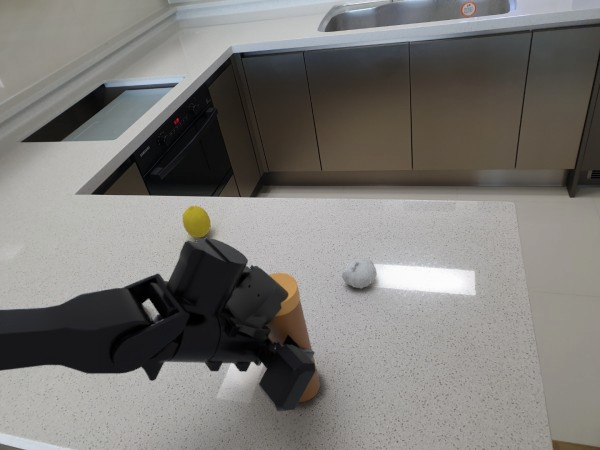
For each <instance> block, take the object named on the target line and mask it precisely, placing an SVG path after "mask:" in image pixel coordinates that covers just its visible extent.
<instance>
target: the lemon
mask: <svg viewBox="0 0 600 450" xmlns="http://www.w3.org/2000/svg"><path fill="white" fill-rule="evenodd" d="M182 224H183V228H184V230H185V231H186V232H187V234H188V235H190V236H191V237H192V238H193V237H194V238H204V237H205V236H206V235H208V233H209V231H210V229H211V225H212V223H211V219H210V215H209V214H208V212H207V211H206V210H205V209H204V208H203V207H201V206H199V205H190V206H189V207H187V208H186V209H185V210H184V211H183V214H182Z"/></svg>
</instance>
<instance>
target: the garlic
mask: <svg viewBox="0 0 600 450" xmlns="http://www.w3.org/2000/svg"><path fill="white" fill-rule="evenodd" d="M377 273H378V272H377V268H376V266H375V264H374V262H373V260H371V259H368V258H365V257H356V258H352V259H351V260H350V261H348V263H347V264H345V267H344V271H343V272H342V273H341V274H342V275H341V277H342V280H343V281H344V283H345V284H346V285H348V286H352V287H353V288H357V289H363V288H366V287H369V286H370V285H371V284H373V283H374V282H375V281H374V280H375V279H376V278H377V275H378V274H377Z"/></svg>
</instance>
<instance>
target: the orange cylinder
mask: <svg viewBox="0 0 600 450" xmlns="http://www.w3.org/2000/svg"><path fill="white" fill-rule="evenodd" d="M268 275H269V276H271V277H272V278H273V279H274V280H275V281H276V282H278V283H279V284H280V285H281V286H282V287H283V288H284V289H285V290H286V291H287V292H288V297H287V299H286V300H285V301H283V302H282V303H281V307H282V308H281V310H280V311H279V312H278V313H277V314H276V315H275V317H274V318H273V319H272V320H271V321H270V322H269V323H268V324H266V325H265V326H268V327H269V329H270V330H271V332H270V334H269V336H268V337H269V338H270V339H271V340H272V341H273V343H274V342H276V341H278V342H281V343H284V341H285V339H286V337H287V335H289V336H290V337H291V338H292V339H293V340H294V341H295V342H296V343H297V344H298V345H299V346H300V347H302V348H306V349H310V350H313V349H312V345H311V340H310V336H309V335H310V334H309V331H308V327H307V323H306V318H305V314H304V310H303V306H302V302H301V294H300V290H299V285H298V281H297V279H296V278H295V277H294V276H293V275H291V274H289V273H286V272H275V273H271V274H268ZM311 360H312V361H313V362H314V363H315V373H314V375H313V377H312V378H311V380H310V382H309V384H308V386H307V388H306V389H305V391H304V393H303V395H302V397H301V399H300V400H299V402H298V403H304V402H308V401H310V400H312V399H313V398H314V397H315V396H316V395H317V394H318V393H319V390H320V386H321V382H320V378H319V374H318V369H317V365H316V361H315V357H314V355H313V357H312V359H311Z"/></svg>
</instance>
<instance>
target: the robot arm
mask: <svg viewBox="0 0 600 450" xmlns="http://www.w3.org/2000/svg"><path fill="white" fill-rule="evenodd" d="M248 263H249V260H248V257H247V256H246V255H245V254H243V252H241V251H239V250H238V249H236V248H235V247H233V246H231V245H229V244H227V243H225V242H224V241H220V240H218V239H215V238H212V237H208V236H206V237H205V238H204V237H199V238H196V240H195V241H192V240H186V241H185V242H184V243H183V246H182V247H181V250H180V252H179V257H178V259H177V262H176V264H175V267H174V268H173V270H172V273H171V275H170V277H169V280H165V279H164V278H163V277H162V275H161V274H160V273H154V274H152V275H149V276H147V277H144V278H141V279H140V280H137V281H134V282H132V283H130V284H127V285H125V286H123V287H114V288H108V289H102V290H96V291H91V292H84V293H80V294H79V295H76V296H75V297H73V298H71V299H69V300H66V301H64V302H63V303H61V304H56V305H51V306H45V307H27V308H8V309H7V308H6V309H5V308H4V309H3V308H2V309H0V372H1V371H2V372H3V371H10V370H18V369H27V368H34V367H42V366H43V367H44V366H62V367H64V368H68V369H71V370H74V371H77V372H80V373H83V374H88V375H105V374H106V375H110V374H111V375H114V374H116V375H118V374H120V375H121V374H126V373H130V372H134V371H136V370H138V369H140V368H141V369H143V371H144V372H145V374H146V376H147V378H148V380H149V381H151V382H154V381H156V380H157V378H158V376H159V374H160V372H161V370H162V368H163V366H164V364H165V363H195V364H196V363H198V364H205V365H206V367H207V368H208V370H209V372H219V371H220V369H221V366H222V364H232V365H234V366H235V368H236V369H237V370H238V371H239V372H241V373H242V372H243V373H244V372H245V373H246V372H248V370H249V368H250V366H251V364H252V363H253V364H254V365H255V366H257V367H261V364H262V365H263V366H264V367H265V368H266V369H265V371H264V374H263V375H262V377H261V379H260V381H259V383H258V386H259V389H260V391H261V392H262V394H263V395H264V396H265V397H266V399H267V400H268V401H269V403H270V405H272V407H273V408H274V409H275V410H276V412H287V411H295V410H296V408H297V406H298V404H299V403H300V402H299V400H300V399H301V397H302V395H303V393H304V391H305V389H306V388H307V386H308V384H309V382H310V380H311V378H312V377H313V375H314V373H315V365H316V362H315V363H314V362H313V361H312V360H311V359H312V357H313V356H314V355H315V351H314V350H313V349H312V350H310V349H306V348H302V347H300V346H299V345H298V344H297V343H296V342H295V341H294V340H293V339H292V338H291V337H290V336H289V335H287V337H286V339H285V341H284V343H281V342H278V341H276V342H274V343H273V341H272V340H271V339H270V338H269V337H268V336H269V334H270V332H271V330H270V329H269V327H268V326H265V325H266V324H268V323H269V322H270V321H271V320H272V319H273V318H274V317H275V315H276V314H277V313H278V312H279V311H280V310H281V308H282V307H281V303H282V302H283V301H285V300H286V299H287V297H288V292H287V291H286V290H285V289H284V288H283V287H282V286H281V285H280V284H279V283H278V282H276V281H275V280H274V279H273V278H272V277H271V276H269V275H270V274H268V273H267V272H266V271H265V270H263V269H262V268H261V267H259V266H257V265H253V264H251V265H250V267H249V266H248ZM148 300H149V301H150V303H151V304H152V306H153V308H154V309H155V310H156V312H157V313H158V314H156V315H155V316H154V317H152V318H151V316H152V315H151V316H150V315H149V313H148V312H147V310H146V308H147V307H146V306H145V305H144V303H145V302H146V301H148Z"/></svg>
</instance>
